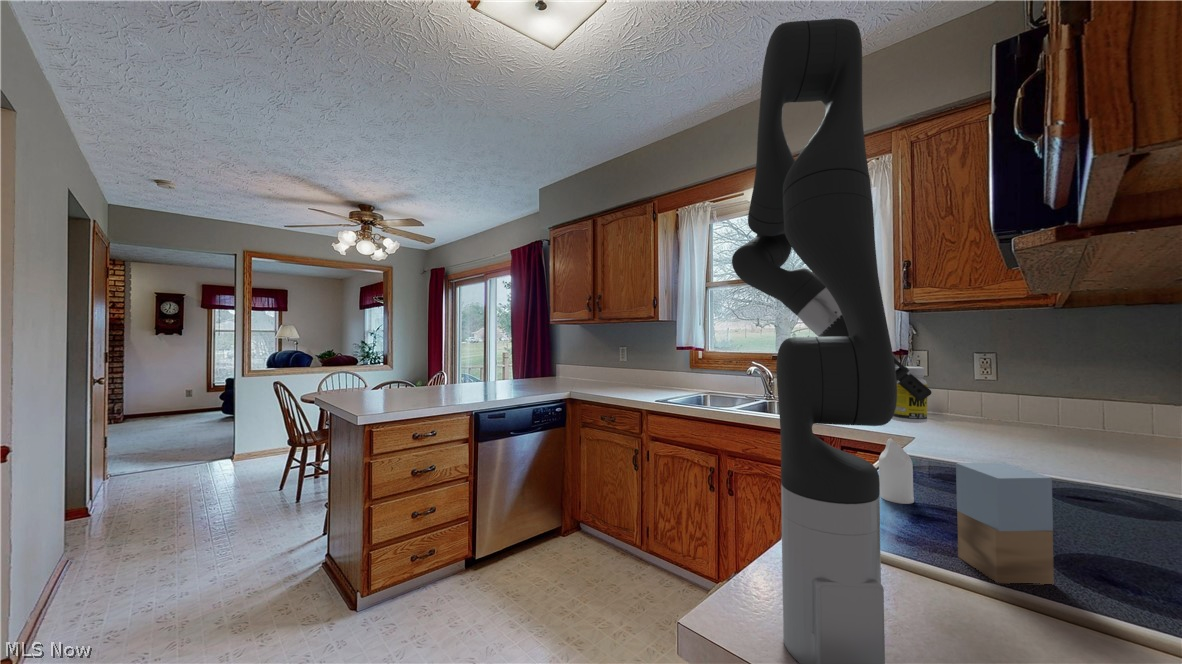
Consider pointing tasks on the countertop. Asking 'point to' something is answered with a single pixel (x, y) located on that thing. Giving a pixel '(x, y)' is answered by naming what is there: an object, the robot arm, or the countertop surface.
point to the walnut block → (1006, 552)
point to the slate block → (1004, 496)
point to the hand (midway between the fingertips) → (923, 394)
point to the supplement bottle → (910, 401)
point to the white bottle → (896, 474)
